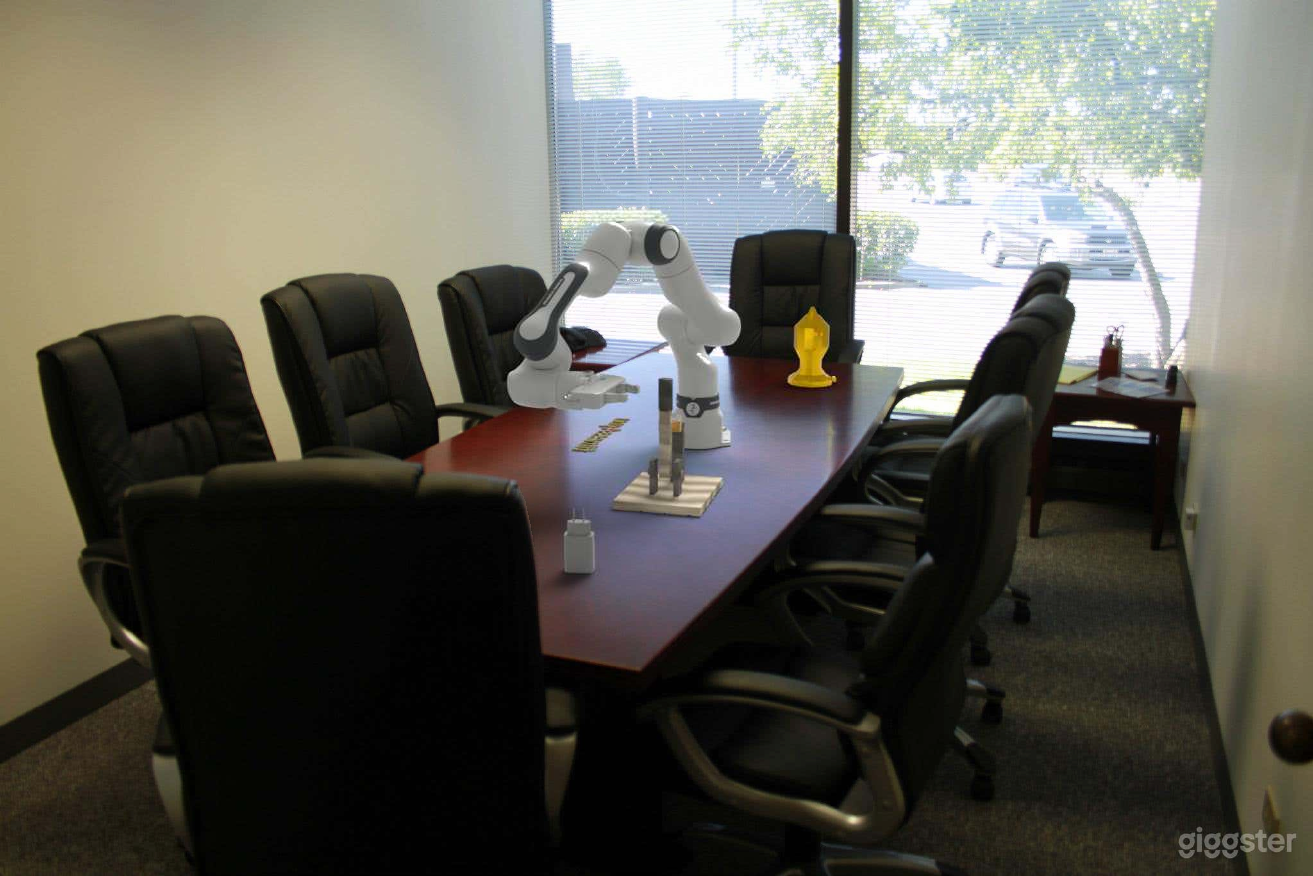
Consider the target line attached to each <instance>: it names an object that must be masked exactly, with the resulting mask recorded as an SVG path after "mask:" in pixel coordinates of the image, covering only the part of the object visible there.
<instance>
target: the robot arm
mask: <svg viewBox="0 0 1313 876" xmlns="http://www.w3.org/2000/svg"><path fill="white" fill-rule="evenodd" d="M625 265H629V266H635V267H640V266H651V267H652V269H653V272H654V274H655V277H656V279H657V281H658V284H659V286H660V288H661V290H662V293H663V296H664V297H665V299H666V300H667V301H668V302H669V303H670V304H666V305H664V306H663V307H662V308H661V309H660V311H659V313H658V315H657V322H656V323H657V324H656V325H657V329H658V333H659V334H660V336H662V337H663V338H664V339H665V340H666V342H667V343H668V345H669V347H670V349H671V351H672V354H673V356H674V359H675V364H676V369H677V393H676V397H675V404H676V405H675V406H676V408H675V410H673V411H672V419H673V418H674V417H675V416H676V415H682V422H685V449H693V450H704V449H705V450H707V449H714V448H720V447H729V446H731V442H732V441H731V439H732V438H731V433H732V432H731V430H729V429H727V428H726V427H725V426H724V415H723V412H722V410H721V408H720V405H721V404H720V402H721V400H720V392H719V391H718V388H719V387H718V386H719V382H718V380H719V368H718V365H717V363H716V362H715V361H714V360H713V359H712V358H711V357H710V356H709V355H708V353H707V351H706V348H705V346H706V347H713V348H717V347H725V346H730V345H733V344H734V343H735V342H736V341H737V339H738V338H739V337H740V333H741V330H742V326H741V325H742V324H741V318H740V317H739V315H738V313H737V312H736V311H735V310H734V309H732V308H730V307H728V306H727V305H725V304H724V302H722V301H721V300H720V299H719V298H718V297H717V296H716V294H714V292H713V291H712V290H711V288H710V287H709V286H708V285H707V283H706V282H705V280H704V277H703V274H702V273H701V271H700V268H699V265H698V264H697V261H696V259H695V256H694V254H693V251H692V249H691V246H690V245H689V243H688V242H687V239H686V237H685V235H683V233H682V232H681V230H680V229H679V228H678V227H677V226H675V225H672V224H668V223H667V222H666V223H665V222H663V221H651V220H643V219H642V220H641V219H640V220H629V221H623V220H618V221H612V220H610V221H609V220H608V221H604V222H601V223H600V224H599V225H597V226H596V228H595V229H594V230H593V231H592V233H591V234H590V235H589V236H588V238H587V239H586V240H585V242H584V244H583V245H582V247H581V249H580V250H579V251H578V253H577V256H576V257H575V259H574V260H573V261H572V263H570V264H568V265H566V266H565V267H564V268H563V269H562V270H561V271H560V272H559V274H558V275H557V277H556V278H555V279H554V280H553V281H552V283H551V284H550V286H549V288H548V289H547V290H546V292H545V293H544V295H543V296H542V297H541V298H540V300H539V301H538V303H537V304H536V305H535V306H534V308H533V309H532V310H531V311H530V312H529V313H528V314H527V315H525V316H524V317H523V318H522V319H521V320H520V321H519V323H518V324H517V325H516V327H515V329H514V332H513V344H514V346H515V349H517V351H518V352H519V353H520V354H521V355H522V356H524V359H523V361H522V362H521V363H520V365H519V366H517V367H516V368H515V369H514V370H512V371H510V372H509V373H508V375H507V378H506V389H507V392H508V395H509V398H510V399H511V400H512V401H513V403H515V404H517V405H519V406H522V407H527V408H528V407H529V408H534V409H535V408H536V409H548V408H556V409H557V410H558V409H559V410H566V411H567V410H568V411H570V410H571V411H583V410H584V409H586V410H587V409H588V410H599V409H602V408H603V407H604V406H606V405H608V404H615V403H616V404H617V403H624V404H625V403H627V402H628V401H629V394H632V395H637V394H639V393H640V392H641V386H640V385H639V384H633V383H629V382H627V381H626V377H623V376H622V375H621V376H619V375H614V374H606V373H595V372H594V370H583V371H582V370H581V371H579V370H578V371H576V370H574V371H573V370H572V371H571V370H570V369H571V366H572V363H573V354H572V351H571V349H570V346H569V345H568V343H567V342H566V340H565V339H564V337H563V336H562V335H561V333H560V322H561V320H562V318H563V317H564V315H565V314H566V313H567V311H568V310H569V308H570V307H571V305H572V303H573V302H574V301H575V299H576V298H577V297H578V296H581V297H582V296H583V297H586V298H591V299H596V298H597V299H598V298H601V297H604V296H606V295H607V294H609V292H610V291H611V290H612V288H613V287H614V286H615V284H616V282H617V281H618V279H619V277H620V275H621V273H622V270H623V269H624V267H625ZM628 393H629V394H628Z"/></svg>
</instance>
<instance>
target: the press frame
mask: <svg viewBox="0 0 1313 876" xmlns="http://www.w3.org/2000/svg"><path fill="white" fill-rule="evenodd" d="M685 450H686V448H685V422H682V431H681V432H672V476H671V477H670V479H667V478H659V456H658V457H656V456H653V457H651V458H650V459H649V461H648V462H649V463H648V468H647V471H642V472H641V473H640V474H639V475H638V476H636V477H635V479H634V480H632V481H631V483H629V484H628V486H626V488H624V489H623V490H622V491H621V492H620V493H619V494H618V495H617V496H616V497H615V498H614V499H613V500H612V509H613V510H618V511H619V510H620V511H629V512H630V511H631V512H640V511H642V512H641V513H651V514H652V513H655V514H664V513H665V514H666V515H677V516H678V515H679V516H687V515H691V517H698V518H699V517H701V516H702V515H703V514H704V513H705V511H706V510H707V509H708V507H709V506H708V505H710V504H711V503H710V502H712V501H713V500H714V498H715V497H716V496H717V494H718V493H719V491H720V490H721V489H722V487H723V486H722V485H724V484H723V481H724V478H723V477H719V476H705V475H692V474H691V475H690V474H685V470H686V469H685V468H686V467H685V462H686V460H685V458H686V457H685V454H686V453H685V452H686V451H685ZM721 486H722V487H721ZM720 488H721V489H720ZM719 489H720V490H719ZM717 492H718V493H717ZM715 495H716V496H715ZM714 496H715V497H714ZM712 499H713V500H712ZM709 503H710V504H709ZM707 506H708V507H707ZM705 509H706V510H705ZM703 512H704V513H703ZM702 513H703V514H702ZM665 514H664V515H665Z"/></svg>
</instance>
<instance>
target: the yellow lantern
mask: <svg viewBox="0 0 1313 876" xmlns="http://www.w3.org/2000/svg"><path fill="white" fill-rule="evenodd" d="M793 329H794V330H793V331H794V332H793V333H794V334H793V347H794V350H795V352H796V354H797V356H798V358H799V368H798V369H797V371H795V372H793V373H792V374H789V376H788V377H787V383H788V384H789V385H791V386H795V387H799V388H800V387H801V388H804V387H805V388H824V387H825V388H826V387H828V386H832V384H833V383H836V382H837V377H836V376H830V375H829V374H827V373H826V372H825V370H824V369H823V368H822V359H823V358H824V356H825V354H826V353H827V351H828V349H829V347H830V329H831V328H830V324H828V322H827V321H825V319H824V318H823V317H822V315H820V314H818V312H817V309H816V308H815V307H814V306H810V308H809V311H808V313H806V314H805V315H803V317H802V318H801V319H800V320H799V321H798V322H797V323H796V324H795V325H794V327H793Z"/></svg>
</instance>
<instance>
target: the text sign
mask: <svg viewBox="0 0 1313 876" xmlns="http://www.w3.org/2000/svg"><path fill="white" fill-rule="evenodd" d="M630 419H631V418H627V417H626V418H624V417H623V418H622V417H615V418H613V419H612V420H611V421H609V422H608V424H600V425H598V428H601V430H596V431H595V433H592V434H591V436H588V437H587V439H584V440H583V441H581V442H580V443H578V445H575V446H574V448H571V452H580V451H584V452H583V453H588V452H587V451H594V452H596V451H597V449H598V448H599V446H598V445H599V443H600V442H603V441H604V439H606V438H608V437H609V436H610V435H612V434H613V432H614V433H615V432H621V431H622V428H621V427H623V426H624V425H625V424H627V423H628V422H630ZM595 436H596V437H595ZM591 438H592V439H591ZM602 440H603V441H602ZM587 442H594V443H587ZM582 444H585V445H582ZM595 445H596V446H595ZM592 447H595V448H592ZM597 447H598V448H597ZM575 448H578V449H575ZM590 449H591V450H590ZM595 450H596V451H595Z"/></svg>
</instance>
